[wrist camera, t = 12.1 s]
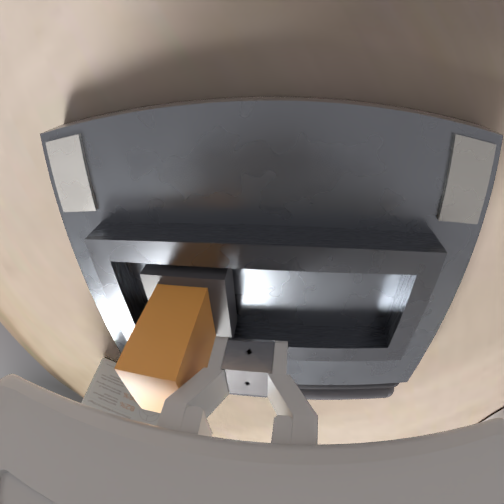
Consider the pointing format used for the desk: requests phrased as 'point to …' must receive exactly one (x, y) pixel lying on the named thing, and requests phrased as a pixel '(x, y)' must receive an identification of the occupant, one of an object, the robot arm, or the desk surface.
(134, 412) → the small box
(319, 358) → the breaker panel
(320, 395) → the twin grey rods
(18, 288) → the desk surface
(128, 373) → the lever
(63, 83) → the desk surface
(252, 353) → the robot arm
